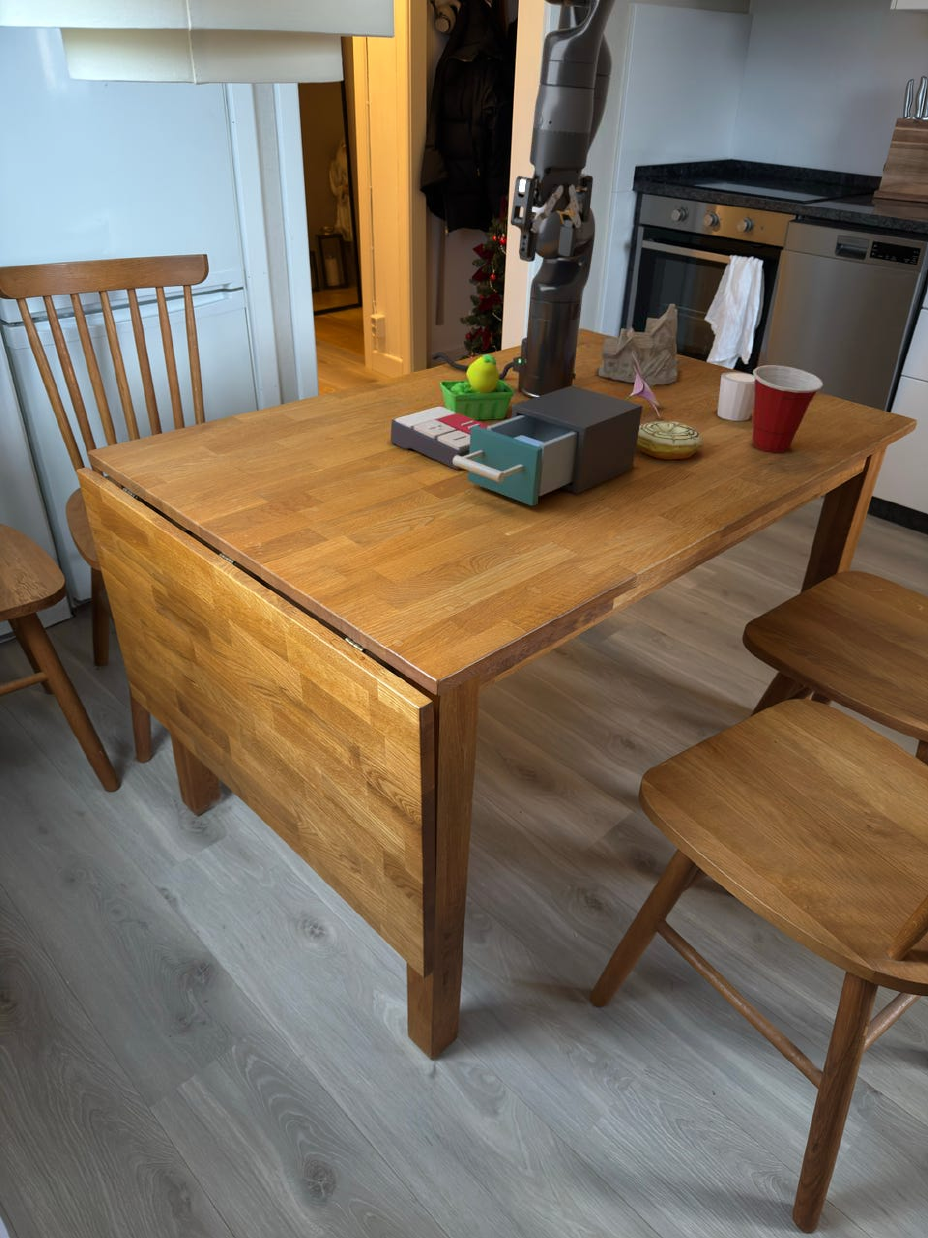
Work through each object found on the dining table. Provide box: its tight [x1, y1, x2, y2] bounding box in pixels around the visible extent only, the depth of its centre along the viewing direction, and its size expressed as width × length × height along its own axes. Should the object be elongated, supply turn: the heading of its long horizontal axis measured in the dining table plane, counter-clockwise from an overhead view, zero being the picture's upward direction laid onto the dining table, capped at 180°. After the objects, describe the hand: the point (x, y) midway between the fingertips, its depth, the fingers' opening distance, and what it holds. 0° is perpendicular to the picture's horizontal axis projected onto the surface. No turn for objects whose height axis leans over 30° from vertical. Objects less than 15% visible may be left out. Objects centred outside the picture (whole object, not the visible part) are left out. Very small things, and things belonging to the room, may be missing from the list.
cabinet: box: [511, 384, 643, 495], centre depth 133 cm, size 15×13×10 cm
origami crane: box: [624, 353, 661, 418], centre depth 158 cm, size 12×12×10 cm
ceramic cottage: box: [598, 303, 680, 386], centre depth 178 cm, size 16×16×15 cm
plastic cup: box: [752, 364, 824, 453], centre depth 145 cm, size 11×11×12 cm
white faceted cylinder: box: [717, 371, 755, 422], centre depth 159 cm, size 7×7×7 cm
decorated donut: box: [636, 420, 704, 461], centre depth 143 cm, size 10×11×4 cm
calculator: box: [390, 406, 489, 471], centre depth 139 cm, size 11×4×15 cm
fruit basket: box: [439, 353, 516, 421], centre depth 151 cm, size 11×9×11 cm
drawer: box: [453, 414, 580, 507], centre depth 124 cm, size 19×12×8 cm, turn 138°
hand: (546, 257), depth 125 cm, fingers open, 8 cm apart
